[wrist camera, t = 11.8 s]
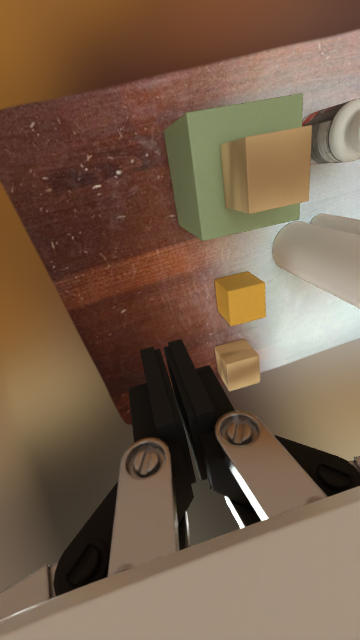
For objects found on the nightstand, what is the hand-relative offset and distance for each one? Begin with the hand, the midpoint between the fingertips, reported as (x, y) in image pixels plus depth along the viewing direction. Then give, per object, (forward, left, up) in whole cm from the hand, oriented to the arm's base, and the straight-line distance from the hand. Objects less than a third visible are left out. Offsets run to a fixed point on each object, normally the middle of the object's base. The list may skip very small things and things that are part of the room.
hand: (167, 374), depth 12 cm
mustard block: (+6, -15, -27) cm, 32 cm away
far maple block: (0, -24, -27) cm, 36 cm away
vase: (+19, -17, -27) cm, 37 cm away
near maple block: (+13, -1, -17) cm, 21 cm away
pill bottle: (+25, -6, -27) cm, 37 cm away
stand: (+13, -1, -27) cm, 30 cm away
